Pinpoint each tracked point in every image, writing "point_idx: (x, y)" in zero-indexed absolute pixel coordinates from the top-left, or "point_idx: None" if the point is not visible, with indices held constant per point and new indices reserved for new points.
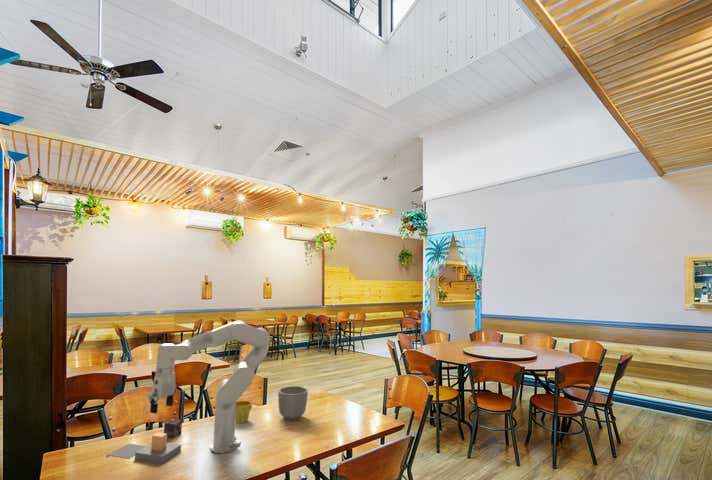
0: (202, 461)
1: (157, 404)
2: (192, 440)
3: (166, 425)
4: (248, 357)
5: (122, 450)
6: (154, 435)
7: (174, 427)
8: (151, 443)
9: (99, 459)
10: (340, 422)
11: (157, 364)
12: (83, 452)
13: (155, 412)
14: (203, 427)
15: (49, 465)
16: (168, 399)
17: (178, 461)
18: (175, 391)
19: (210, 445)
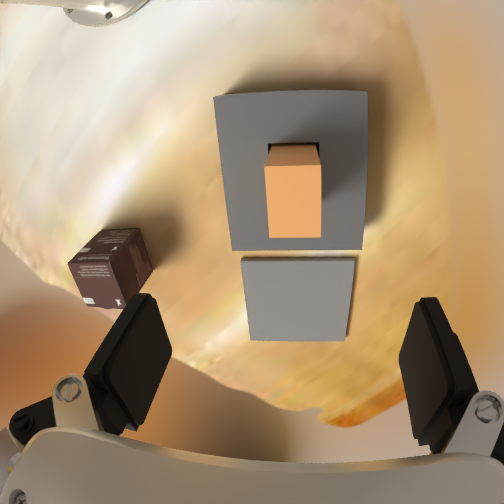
0: None
1: (460, 382)
2: (109, 144)
3: (128, 293)
4: None
5: (302, 324)
6: (315, 226)
7: (115, 253)
8: (260, 249)
9: (366, 340)
10: None
11: None
12: (332, 394)
13: (436, 308)
14: (30, 199)
15: (405, 398)
16: (139, 391)
17: (301, 39)
18: (19, 418)
19: (129, 9)
